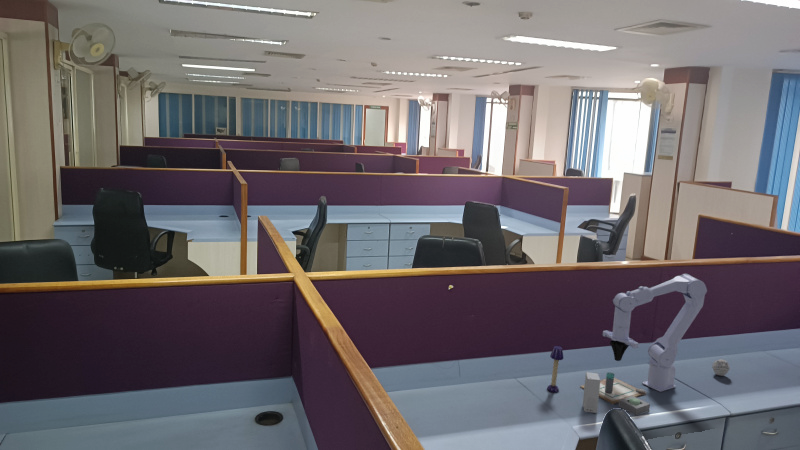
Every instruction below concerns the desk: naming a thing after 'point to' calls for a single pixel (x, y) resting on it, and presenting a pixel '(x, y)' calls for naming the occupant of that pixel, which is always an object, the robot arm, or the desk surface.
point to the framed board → (618, 391)
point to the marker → (609, 383)
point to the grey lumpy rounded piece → (720, 367)
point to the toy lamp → (555, 367)
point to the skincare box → (591, 392)
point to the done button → (634, 401)
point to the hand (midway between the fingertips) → (617, 360)
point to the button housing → (632, 408)
